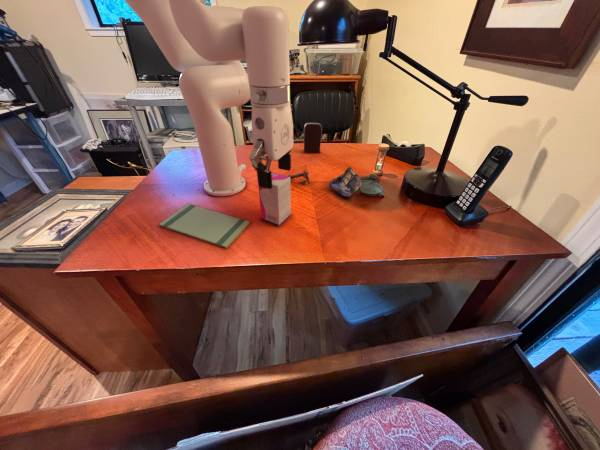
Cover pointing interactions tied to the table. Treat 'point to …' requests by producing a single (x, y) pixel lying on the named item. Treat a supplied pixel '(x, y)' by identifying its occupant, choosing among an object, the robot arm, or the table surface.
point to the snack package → (346, 183)
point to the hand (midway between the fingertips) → (275, 177)
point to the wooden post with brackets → (300, 176)
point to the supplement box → (276, 200)
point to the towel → (205, 225)
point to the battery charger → (312, 137)
